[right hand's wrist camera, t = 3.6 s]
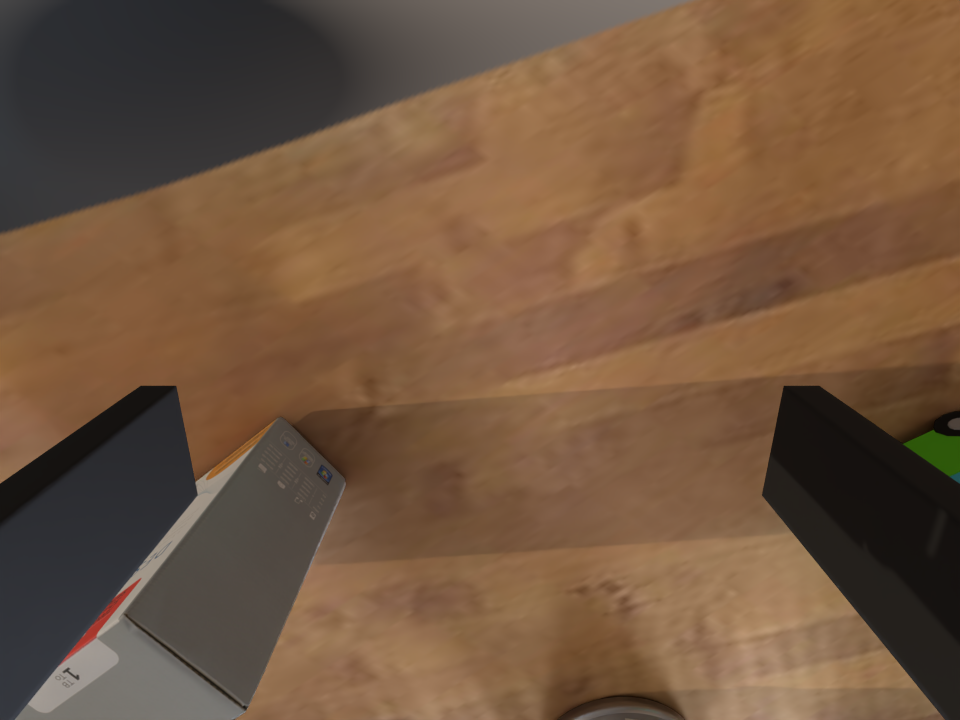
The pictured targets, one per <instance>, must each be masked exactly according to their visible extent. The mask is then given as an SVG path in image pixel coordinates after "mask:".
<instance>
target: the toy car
mask: <svg viewBox="0 0 960 720" xmlns="http://www.w3.org/2000/svg"><path fill="white" fill-rule="evenodd" d="M934 430H935V431H934ZM934 430H932V431H930V432H928V433H926V434H923V435H921V436H919V437H917V438H915V439H912V440H910V441H908V442H906V443H904V444H903V445H905V446H906V447H908V448H909V449H911V450H912V451H913V452H915V453H916V454H918V455H919V456H921V457H922V458H924V459H925V460H926V461H928V462H929V463H931V464H932V465H934V466H935V467H936V468H938V469H939V470H941V471H942V472H944V473H945V474H947V475H948V476H949V477H951V478H952V479H954V480H955V481H957V482H958V483H959V484H960V411H955V412H951V413H948V414H944V415H943V416H941V417H940V418H938V419H937V420H936V421H935V424H934Z"/></svg>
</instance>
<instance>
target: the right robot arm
mask: <svg viewBox="0 0 960 720" xmlns="http://www.w3.org/2000/svg"><path fill="white" fill-rule="evenodd" d="M197 496H198V493H197V488H196V483H195V478H194V473H193V468H192V463H191V458H190V453H189V448H188V443H187V438H186V433H185V428H184V423H183V418H182V413H181V408H180V403H179V398H178V393H177V388H176V386H140V387H138V388H137V389H136V390H134V391H133V392H131V393H130V394H128V395H127V396H125V397H124V398H123V399H121V400H120V401H118V402H117V403H115V404H114V405H113V406H111V407H110V408H108V409H107V410H105V411H104V412H103V413H101V414H100V415H98V416H97V417H95V418H94V419H92V420H91V421H90V422H88V423H87V424H85V425H84V426H82V427H81V428H80V429H78V430H77V431H75V432H74V433H72V434H71V435H69V436H68V437H67V438H65V439H64V440H62V441H61V442H59V443H58V444H57V445H55V446H54V447H52V448H51V449H49V450H48V451H47V452H45V453H44V454H42V455H41V456H39V457H38V458H36V459H35V460H34V461H32V462H31V463H29V464H28V465H26V466H25V467H24V468H22V469H21V470H19V471H18V472H16V473H15V474H13V475H12V476H11V477H9V478H8V479H6V480H5V481H3V482H2V483H1V484H0V720H15V719H16V718H17V716H18V715H19V714H20V713H21V711H22V710H23V709H24V708H25V707H26V705H27V704H28V703H29V702H30V700H31V699H32V698H33V697H34V696H35V694H36V693H37V692H38V691H39V689H40V688H41V687H42V686H43V684H44V683H45V682H46V681H47V680H48V678H49V677H50V676H51V675H52V673H53V672H54V671H55V670H56V669H57V667H58V666H59V665H60V664H61V662H62V661H63V660H64V659H65V658H66V656H67V655H68V654H69V653H70V651H71V650H72V649H73V648H74V646H75V645H76V644H77V643H78V642H79V640H80V639H81V638H82V637H83V635H84V634H85V633H86V632H87V631H88V629H89V628H90V627H91V626H92V624H93V623H94V622H95V621H96V620H97V618H98V617H99V616H100V615H101V613H102V612H103V611H104V610H105V609H106V607H107V606H108V605H109V604H110V602H111V601H112V600H113V599H114V597H115V596H116V595H117V594H118V593H119V591H120V590H121V589H122V588H123V586H124V585H125V584H126V583H127V582H128V580H129V579H130V578H131V577H132V575H133V574H134V573H135V572H136V571H137V569H138V568H139V567H140V566H141V564H142V563H143V562H144V561H145V559H146V558H147V557H148V556H149V555H150V553H151V552H152V551H153V550H154V548H155V547H156V546H157V545H158V544H159V542H160V541H161V540H162V539H163V537H164V536H165V535H166V534H167V533H168V531H169V530H170V529H171V528H172V526H173V525H174V524H175V523H176V522H177V520H178V519H179V518H180V517H181V515H182V514H183V513H184V512H185V510H186V509H187V508H188V507H189V506H190V504H191V503H192V502H193V501H194V499H195V498H196V497H197ZM762 496H763V497H764V498H765V499H766V501H767V502H768V503H769V504H770V506H771V507H772V508H773V509H774V510H775V512H776V513H777V514H778V515H779V517H780V518H781V519H782V520H783V522H784V523H785V524H786V525H787V526H788V528H789V529H790V530H791V531H792V533H793V534H794V535H795V536H796V537H797V539H798V540H799V541H800V542H801V544H802V545H803V546H804V547H805V548H806V550H807V551H808V552H809V553H810V555H811V556H812V557H813V558H814V560H815V561H816V562H817V563H818V564H819V566H820V567H821V568H822V569H823V571H824V572H825V573H826V574H827V575H828V577H829V578H830V579H831V580H832V582H833V583H834V584H835V585H836V586H837V588H838V589H839V590H840V591H841V593H842V594H843V595H844V596H845V597H846V599H847V600H848V601H849V602H850V604H851V605H852V606H853V607H854V609H855V610H856V611H857V612H858V613H859V615H860V616H861V617H862V618H863V620H864V621H865V622H866V623H867V624H868V626H869V627H870V628H871V629H872V631H873V632H874V633H875V634H876V635H877V637H878V638H879V639H880V640H881V642H882V643H883V644H884V645H885V646H886V648H887V649H888V650H889V651H890V653H891V654H892V655H893V656H894V658H895V659H896V660H897V661H898V662H899V664H900V665H901V666H902V667H903V669H904V670H905V671H906V672H907V673H908V675H909V676H910V677H911V678H912V680H913V681H914V682H915V683H916V684H917V686H918V687H919V688H920V689H921V691H922V692H923V693H924V694H925V696H926V697H927V698H928V699H929V700H930V702H931V703H932V704H933V705H934V707H935V708H936V709H937V710H938V711H939V713H940V714H941V715H942V716H943V718H944V719H945V720H960V484H959V483H958V482H957V481H955V480H954V479H952V478H951V477H949V476H948V475H947V474H945V473H944V472H942V471H941V470H939V469H938V468H936V467H935V466H934V465H932V464H931V463H929V462H928V461H926V460H925V459H924V458H922V457H921V456H919V455H918V454H916V453H915V452H913V451H912V450H911V449H909V448H908V447H906V446H905V445H903V444H902V443H901V442H899V441H898V440H896V439H895V438H893V437H892V436H891V435H889V434H888V433H886V432H885V431H883V430H882V429H880V428H879V427H878V426H876V425H875V424H873V423H872V422H870V421H869V420H868V419H866V418H865V417H863V416H862V415H860V414H859V413H857V412H856V411H855V410H853V409H852V408H850V407H849V406H847V405H846V404H845V403H843V402H842V401H840V400H839V399H837V398H836V397H835V396H833V395H832V394H830V393H829V392H827V391H826V390H824V389H823V388H822V387H820V386H784V388H783V393H782V398H781V403H780V408H779V413H778V418H777V423H776V428H775V433H774V438H773V443H772V448H771V453H770V458H769V463H768V468H767V473H766V478H765V483H764V488H763V493H762ZM558 720H685V719H684V718H683V717H681V716H680V715H679V714H678V713H677V712H675V711H674V710H672V709H671V708H669V707H667V706H665V705H663V704H661V703H658V702H655V701H652V700H648V699H643V698H636V697H611V698H604V699H599V700H595V701H591V702H588V703H585V704H583V705H580V706H578V707H576V708H574V709H572V710H570V711H569V712H567V713H565V714H564V715H563V716H561V717H560V718H559V719H558Z"/></svg>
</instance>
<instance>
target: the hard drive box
mask: <svg viewBox="0 0 960 720" xmlns="http://www.w3.org/2000/svg"><path fill="white" fill-rule="evenodd" d="M195 483H196V488H197V493H198V496H197V497H196V498H195V499H194V501H193V502H192V503H191V504H190V506H189V507H188V508H187V509H186V510H185V512H184V513H183V514H182V515H181V517H180V518H179V519H178V520H177V522H176V523H175V524H174V525H173V526H172V528H171V529H170V530H169V531H168V533H167V534H166V535H165V536H164V537H163V539H162V540H161V541H160V542H159V544H158V545H157V546H156V547H155V548H154V550H153V551H152V552H151V553H150V555H149V556H148V557H147V558H146V559H145V561H144V562H143V563H142V564H141V566H140V567H139V568H138V569H137V571H136V572H135V573H134V574H133V575H132V577H131V578H130V579H129V580H128V582H127V583H126V584H125V585H124V586H123V588H122V589H121V590H120V591H119V593H118V594H117V595H116V596H115V597H114V599H113V600H112V601H111V602H110V604H109V605H108V606H107V607H106V609H105V610H104V611H103V612H102V613H101V615H100V616H99V617H98V618H97V620H96V621H95V622H94V623H93V624H92V626H91V627H90V628H89V629H88V631H87V632H86V633H85V634H84V635H83V637H82V638H81V639H80V640H79V642H78V643H77V644H76V645H75V646H74V648H73V649H72V650H71V651H70V653H69V654H68V655H67V656H66V658H65V659H64V660H63V661H62V662H61V664H60V665H59V666H58V667H57V669H56V670H55V671H54V672H53V673H52V675H51V676H50V677H49V678H48V680H47V681H46V682H45V683H44V684H43V686H42V687H41V688H40V689H39V691H38V692H37V693H36V694H35V696H34V697H33V698H32V699H31V700H30V702H29V703H28V704H27V705H26V707H25V708H24V709H23V710H22V711H21V713H20V714H19V715H18V716H17V718H16V719H15V720H234V719H236V718H237V717H239V716H240V715H242V714H243V713H245V712H246V710H247V708H248V706H249V705H250V702H251V700H252V698H253V696H254V694H255V691H256V689H257V687H258V684H259V682H260V680H261V678H262V676H263V674H264V672H265V669H266V666H267V664H268V662H269V660H270V657H271V655H272V653H273V650H274V648H275V646H276V643H277V641H278V639H279V637H280V634H281V632H282V630H283V627H284V625H285V623H286V620H287V618H288V616H289V614H290V611H291V609H292V607H293V604H294V602H295V600H296V598H297V595H298V593H299V591H300V589H301V586H302V584H303V582H304V580H305V577H306V575H307V573H308V571H309V568H310V566H311V564H312V561H313V559H314V557H315V555H316V552H317V550H318V548H319V546H320V543H321V541H322V539H323V536H324V534H325V532H326V530H327V527H328V525H329V523H330V521H331V518H332V516H333V514H334V512H335V509H336V507H337V505H338V502H339V500H340V498H341V496H342V493H343V491H344V489H345V486H346V483H345V478H344V477H343V476H342V475H341V474H340V473H339V472H338V471H337V470H336V469H335V468H334V467H333V466H332V465H331V464H330V463H329V462H328V461H327V460H326V459H325V458H324V457H323V456H322V455H321V454H320V453H319V452H318V451H317V450H316V449H314V448H313V447H312V446H311V445H310V444H309V443H308V442H307V441H306V440H305V439H304V438H303V437H302V436H301V435H300V434H299V433H298V432H297V431H296V430H295V429H294V428H293V427H292V426H291V425H290V424H289V423H288V422H287V421H286V420H285V419H284V418H283V417H279V418H277V419H276V420H274V421H273V422H272V423H270V424H269V425H268V426H267V427H265V428H264V429H263V430H261V431H260V432H259V433H258V434H257V435H255V436H254V437H252V438H251V439H250V440H249V441H247V442H246V443H245V444H244V445H242V446H241V447H240V448H238V449H237V450H236V451H235V452H233V453H232V454H231V455H230V456H228V457H227V458H226V459H224V460H223V461H222V462H221V463H219V464H218V465H217V466H216V467H214V468H213V469H212V470H210V471H209V472H208V473H206V474H205V475H204V476H203V477H202V478H200V479H199V480H198V481H196V482H195Z"/></svg>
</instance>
